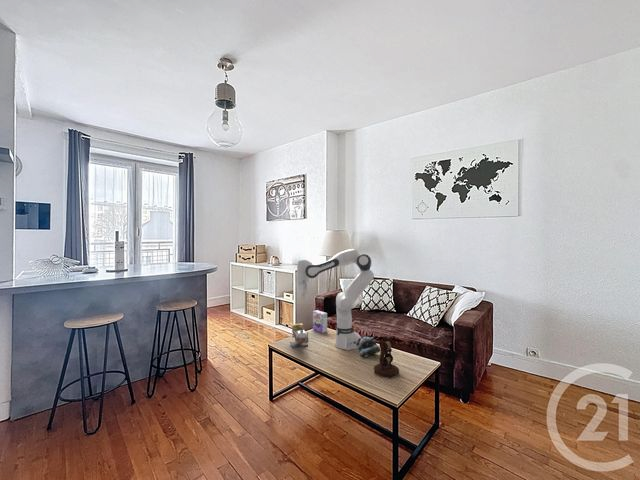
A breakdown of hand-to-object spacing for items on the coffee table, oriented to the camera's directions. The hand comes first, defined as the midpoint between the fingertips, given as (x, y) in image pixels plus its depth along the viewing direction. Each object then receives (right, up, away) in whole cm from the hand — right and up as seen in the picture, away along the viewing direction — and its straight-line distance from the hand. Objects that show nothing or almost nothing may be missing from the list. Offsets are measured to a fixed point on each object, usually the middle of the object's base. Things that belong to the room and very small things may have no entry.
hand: (303, 297), depth 234 cm
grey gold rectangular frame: (-1, -34, -14) cm, 37 cm away
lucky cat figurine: (+46, -35, -28) cm, 64 cm away
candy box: (+13, -34, +24) cm, 44 cm away
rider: (0, -24, -21) cm, 32 cm away
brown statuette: (+53, -35, -55) cm, 84 cm away
